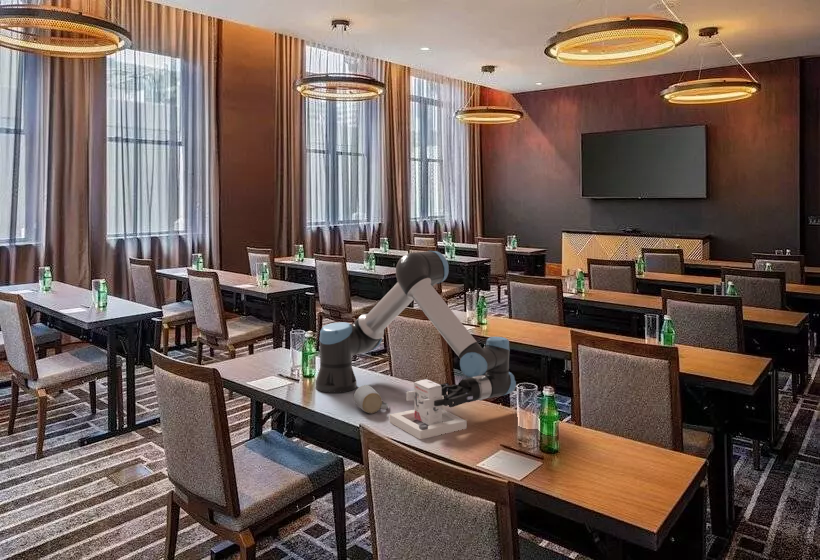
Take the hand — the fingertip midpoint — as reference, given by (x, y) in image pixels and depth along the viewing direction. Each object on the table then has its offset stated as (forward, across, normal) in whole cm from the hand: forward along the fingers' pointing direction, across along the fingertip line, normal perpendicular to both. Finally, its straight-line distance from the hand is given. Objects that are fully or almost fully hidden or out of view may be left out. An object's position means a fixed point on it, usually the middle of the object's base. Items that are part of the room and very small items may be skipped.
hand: (415, 400), depth 187 cm
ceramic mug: (+3, +22, -9) cm, 24 cm away
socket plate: (-5, 0, -9) cm, 10 cm away
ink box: (-5, 0, -7) cm, 9 cm away
